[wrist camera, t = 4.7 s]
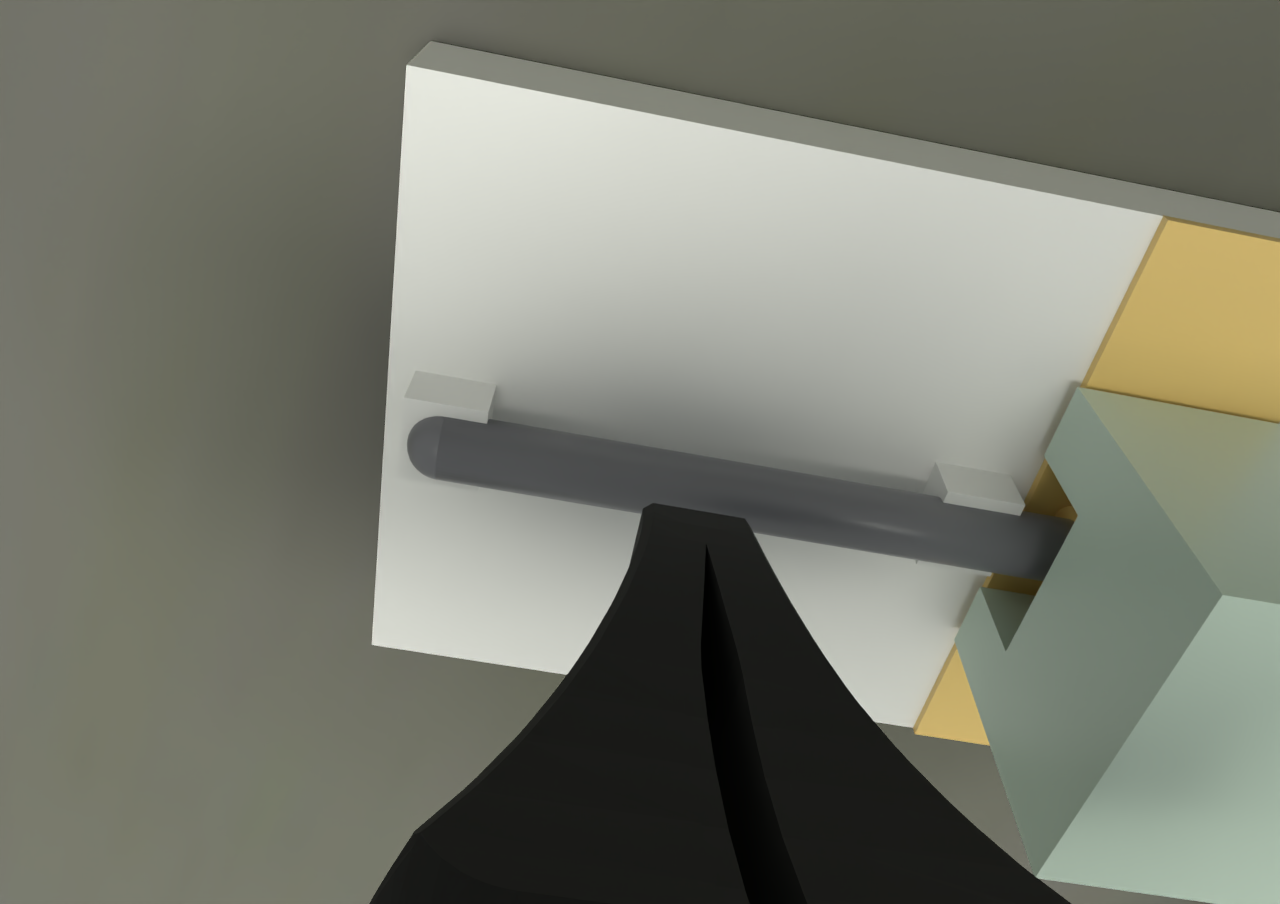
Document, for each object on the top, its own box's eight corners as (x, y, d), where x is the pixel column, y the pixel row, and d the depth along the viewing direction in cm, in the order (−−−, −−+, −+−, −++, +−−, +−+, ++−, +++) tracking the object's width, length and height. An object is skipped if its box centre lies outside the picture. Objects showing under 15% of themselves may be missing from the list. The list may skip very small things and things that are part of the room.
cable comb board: (1620, 281, 15) (1880, 412, 12) (1273, 728, 21) (1388, 904, 17) (430, 40, 14) (355, 115, 11) (391, 589, 19) (333, 751, 16)
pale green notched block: (1336, 434, 15) (1567, 652, 11) (1175, 675, 17) (1316, 918, 14) (1077, 386, 14) (1222, 595, 11) (953, 639, 17) (1034, 877, 13)
